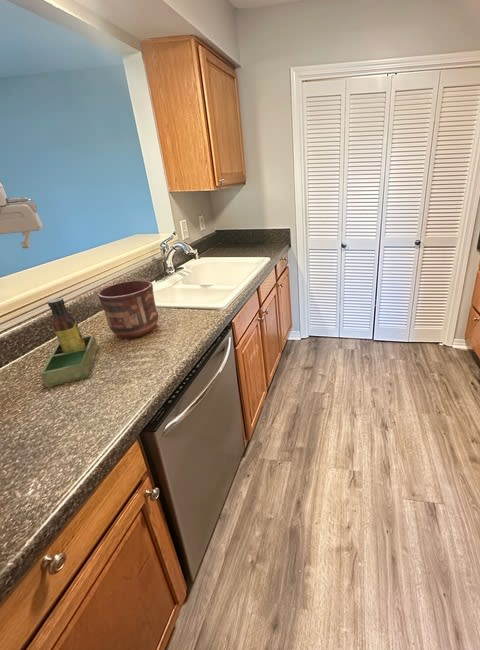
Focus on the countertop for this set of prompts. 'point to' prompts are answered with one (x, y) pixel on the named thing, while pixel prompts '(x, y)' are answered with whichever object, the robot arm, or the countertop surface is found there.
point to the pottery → (130, 308)
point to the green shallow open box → (69, 364)
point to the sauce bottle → (65, 327)
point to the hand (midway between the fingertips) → (7, 249)
